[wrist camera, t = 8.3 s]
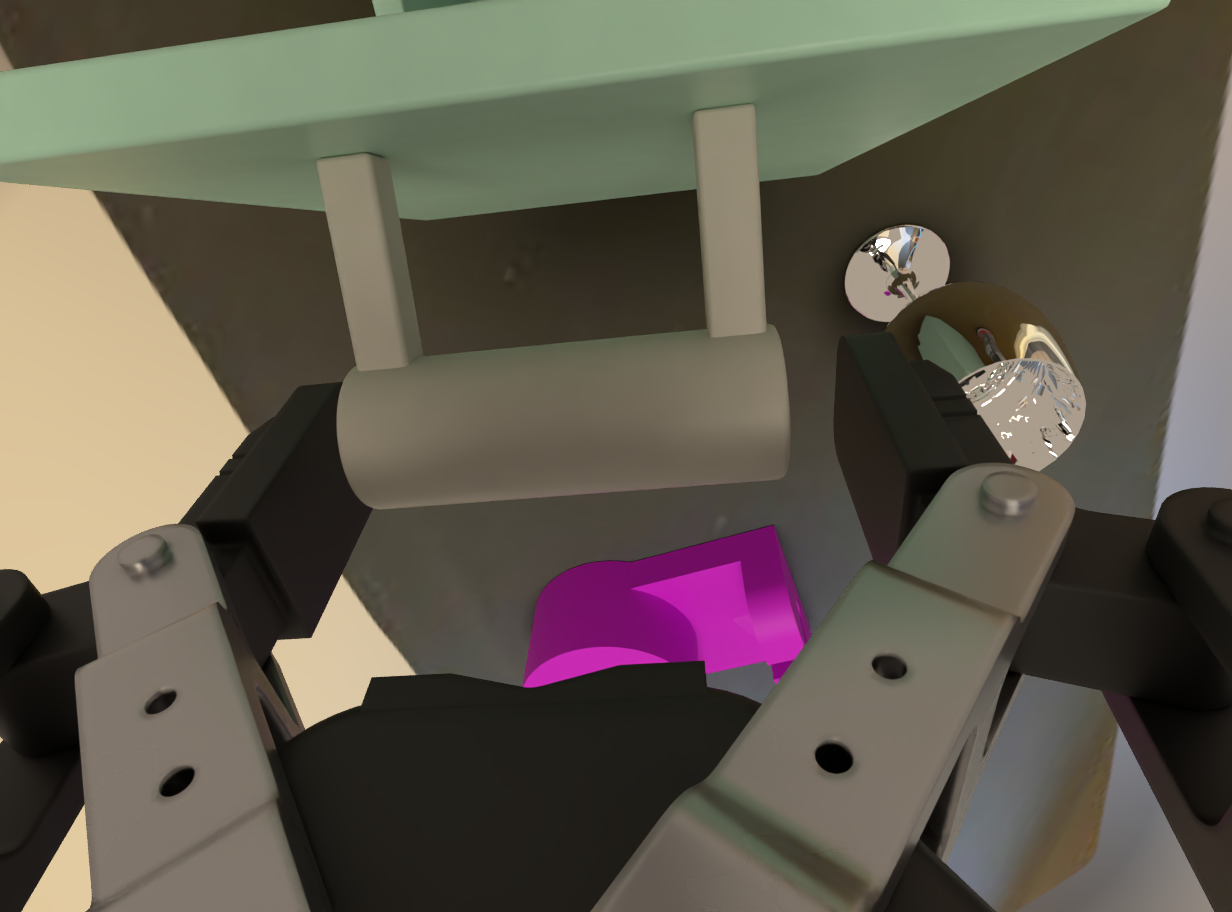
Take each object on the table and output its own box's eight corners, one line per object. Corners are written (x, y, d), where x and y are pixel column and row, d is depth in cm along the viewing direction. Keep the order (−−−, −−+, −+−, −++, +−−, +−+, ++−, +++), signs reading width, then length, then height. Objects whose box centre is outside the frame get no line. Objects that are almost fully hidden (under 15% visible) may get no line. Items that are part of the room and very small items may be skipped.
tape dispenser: (573, 684, 49) (564, 771, 44) (507, 584, 44) (489, 670, 39) (811, 631, 46) (831, 719, 40) (770, 515, 40) (787, 600, 35)
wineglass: (986, 289, 32) (1130, 445, 23) (863, 356, 35) (947, 526, 25) (934, 179, 30) (1072, 302, 20) (805, 259, 32) (873, 405, 22)
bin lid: (-122, 87, 7) (49, 592, 8) (1188, -108, 6) (1132, 522, 7) (419, 192, 22) (448, 369, 23) (819, 144, 21) (824, 334, 22)
